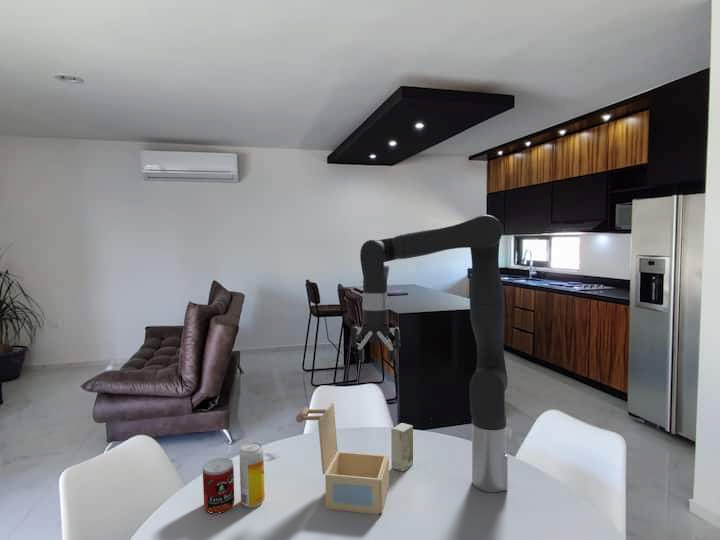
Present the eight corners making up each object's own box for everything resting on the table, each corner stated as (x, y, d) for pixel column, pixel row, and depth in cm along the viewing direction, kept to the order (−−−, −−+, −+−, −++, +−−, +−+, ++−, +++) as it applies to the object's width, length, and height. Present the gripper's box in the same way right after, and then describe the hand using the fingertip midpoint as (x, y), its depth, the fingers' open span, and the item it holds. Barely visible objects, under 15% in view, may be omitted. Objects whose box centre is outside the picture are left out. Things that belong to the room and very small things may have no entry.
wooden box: (389, 487, 122) (388, 455, 121) (381, 515, 109) (381, 480, 108) (338, 482, 125) (338, 451, 124) (325, 509, 112) (325, 475, 111)
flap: (333, 402, 124) (307, 402, 125) (320, 420, 111) (291, 420, 113) (337, 450, 124) (311, 450, 126) (324, 474, 112) (295, 473, 113)
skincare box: (403, 472, 130) (402, 432, 129) (390, 468, 132) (390, 428, 132) (414, 463, 135) (413, 425, 134) (402, 459, 137) (401, 421, 137)
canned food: (206, 518, 109) (205, 475, 108) (201, 502, 116) (200, 461, 115) (237, 509, 112) (236, 467, 112) (231, 494, 120) (230, 455, 119)
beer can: (269, 498, 117) (267, 444, 116) (254, 511, 112) (253, 453, 111) (251, 493, 120) (249, 440, 119) (236, 505, 114) (234, 449, 113)
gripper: (400, 306, 131) (401, 359, 132) (354, 305, 134) (355, 358, 134) (398, 309, 123) (398, 366, 124) (349, 309, 126) (350, 364, 127)
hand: (376, 361), depth 129 cm, fingers open, 8 cm apart
